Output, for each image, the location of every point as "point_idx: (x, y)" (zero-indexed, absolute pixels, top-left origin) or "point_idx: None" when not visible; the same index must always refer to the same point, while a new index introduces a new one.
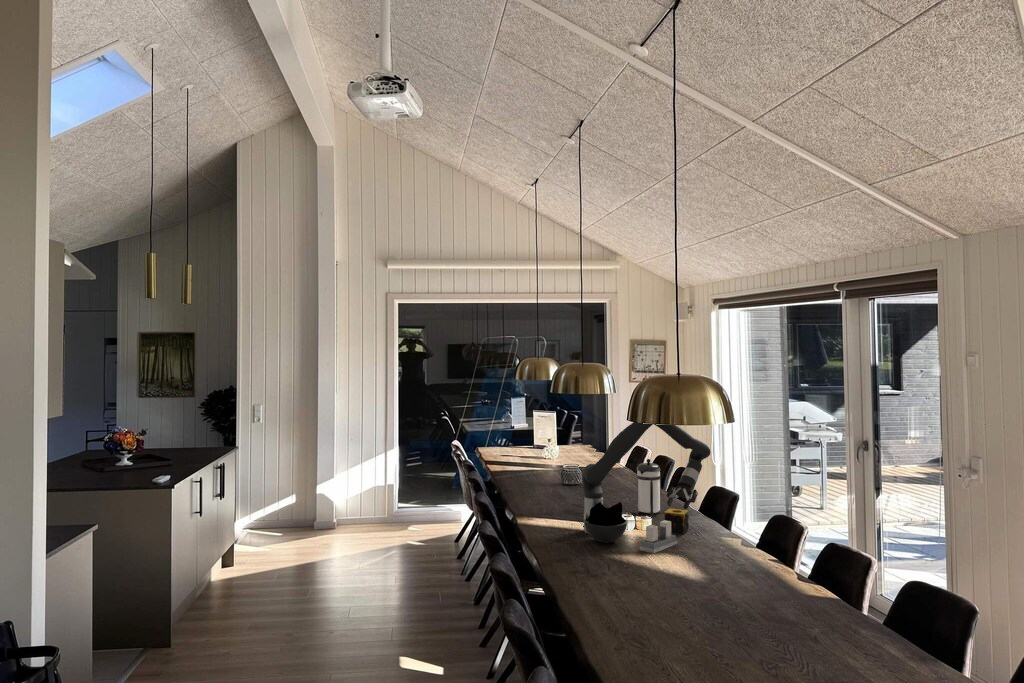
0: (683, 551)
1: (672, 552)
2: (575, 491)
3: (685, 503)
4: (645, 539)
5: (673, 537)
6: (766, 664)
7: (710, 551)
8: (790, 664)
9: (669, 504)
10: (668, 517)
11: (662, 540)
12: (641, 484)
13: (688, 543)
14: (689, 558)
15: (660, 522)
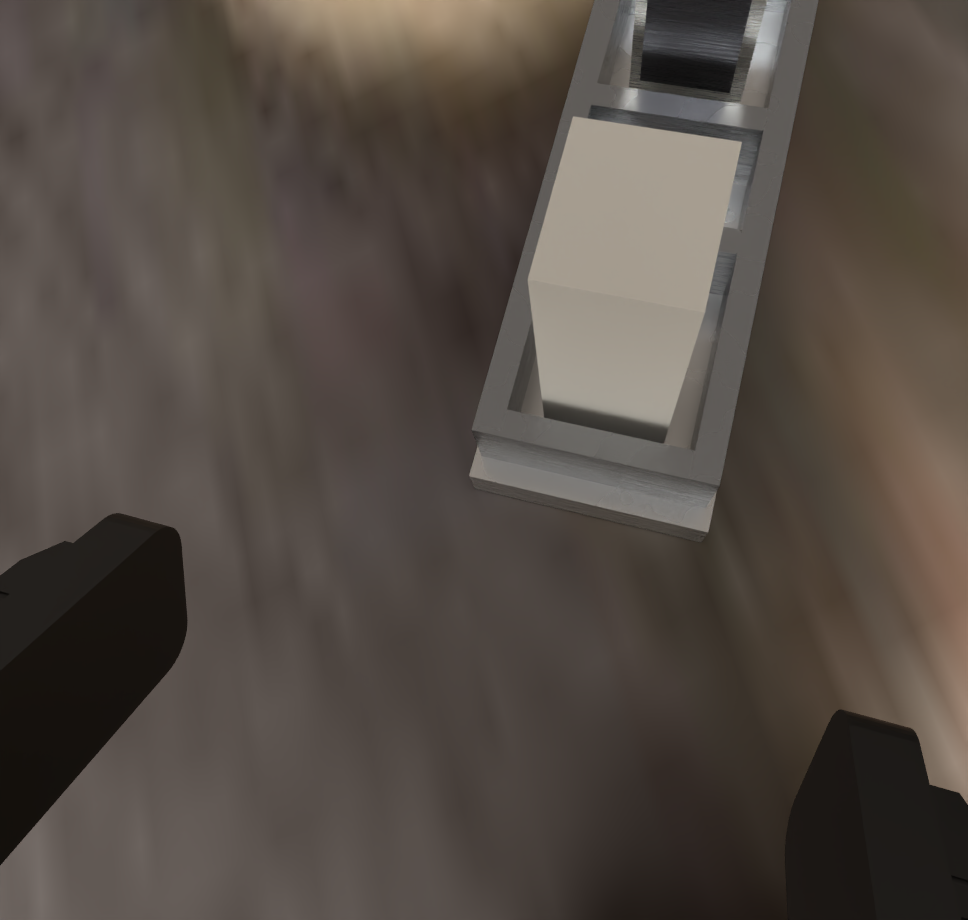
0: (322, 219)
1: (431, 123)
2: None
3: (28, 607)
4: (812, 21)
5: (493, 361)
6: None
7: (22, 374)
8: None
9: (823, 773)
10: None
11: (575, 92)
12: None
13: (337, 597)
14: (213, 28)
15: (721, 146)
